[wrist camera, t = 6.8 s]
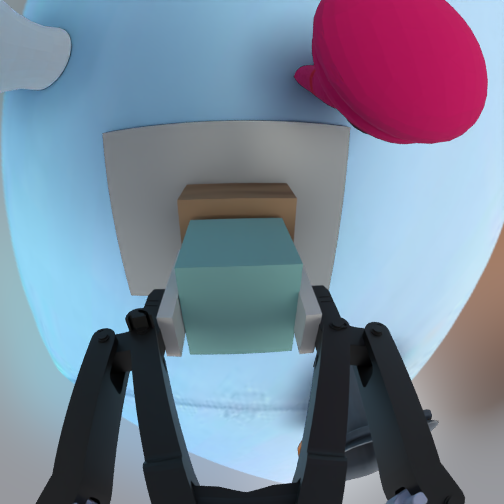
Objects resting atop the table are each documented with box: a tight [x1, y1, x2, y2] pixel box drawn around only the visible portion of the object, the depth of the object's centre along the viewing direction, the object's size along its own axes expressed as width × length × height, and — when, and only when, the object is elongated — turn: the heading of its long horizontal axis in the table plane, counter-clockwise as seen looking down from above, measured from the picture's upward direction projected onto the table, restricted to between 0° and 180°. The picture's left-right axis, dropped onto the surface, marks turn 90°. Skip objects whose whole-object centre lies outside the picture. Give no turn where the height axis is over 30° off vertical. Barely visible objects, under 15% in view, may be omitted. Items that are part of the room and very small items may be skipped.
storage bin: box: [298, 365, 438, 481], centre depth 32 cm, size 21×16×14 cm
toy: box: [294, 0, 488, 144], centre depth 12 cm, size 8×8×15 cm
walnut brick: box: [177, 183, 297, 244], centre depth 22 cm, size 8×8×4 cm
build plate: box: [102, 120, 350, 296], centre depth 24 cm, size 16×20×1 cm
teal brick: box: [174, 218, 303, 354], centre depth 17 cm, size 6×6×6 cm
